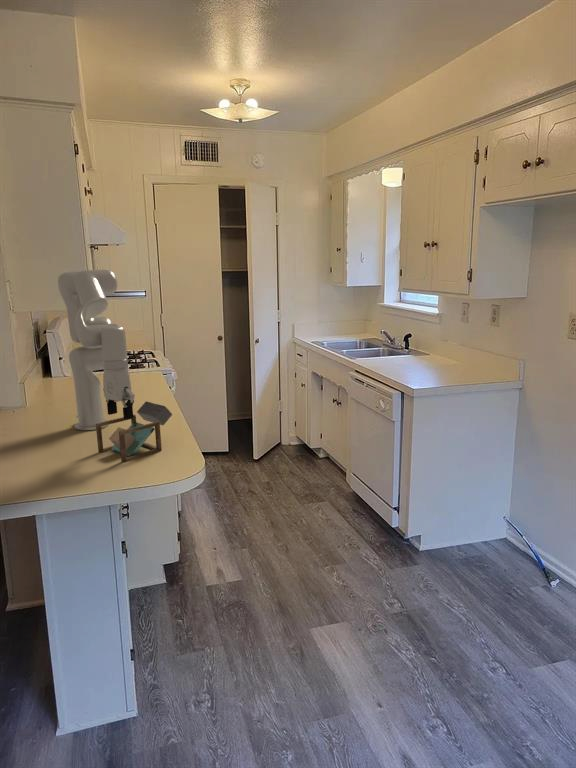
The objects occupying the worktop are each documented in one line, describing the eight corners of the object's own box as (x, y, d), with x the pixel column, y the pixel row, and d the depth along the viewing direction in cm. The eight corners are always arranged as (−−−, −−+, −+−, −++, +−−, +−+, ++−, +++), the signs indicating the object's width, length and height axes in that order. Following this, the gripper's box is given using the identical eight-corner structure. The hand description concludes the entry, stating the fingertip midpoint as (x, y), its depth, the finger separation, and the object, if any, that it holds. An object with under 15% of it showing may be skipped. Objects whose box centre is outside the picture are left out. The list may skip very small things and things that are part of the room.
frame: (98, 452, 186) (95, 423, 184) (136, 441, 197) (133, 414, 195) (123, 462, 176) (120, 432, 174) (161, 450, 186) (159, 422, 184)
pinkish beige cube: (117, 447, 186) (108, 438, 183) (127, 436, 188) (118, 427, 185) (125, 450, 183) (116, 441, 180) (135, 439, 185) (126, 429, 182)
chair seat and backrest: (116, 453, 189) (108, 445, 186) (153, 409, 198) (145, 401, 195) (134, 460, 181) (126, 452, 179) (172, 414, 190) (165, 406, 188)
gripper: (91, 364, 182) (96, 414, 185) (119, 369, 170) (124, 423, 174) (112, 360, 187) (116, 409, 190) (140, 365, 175) (145, 418, 179)
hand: (120, 416), depth 182 cm, fingers open, 9 cm apart
